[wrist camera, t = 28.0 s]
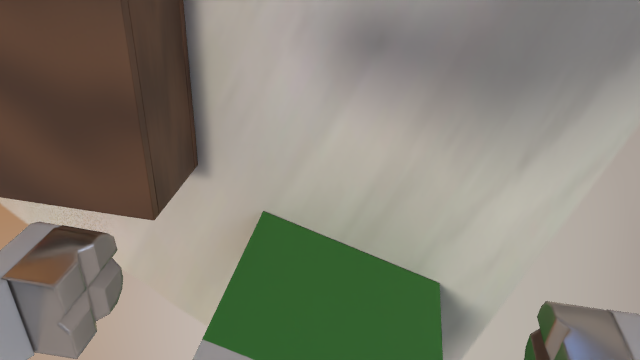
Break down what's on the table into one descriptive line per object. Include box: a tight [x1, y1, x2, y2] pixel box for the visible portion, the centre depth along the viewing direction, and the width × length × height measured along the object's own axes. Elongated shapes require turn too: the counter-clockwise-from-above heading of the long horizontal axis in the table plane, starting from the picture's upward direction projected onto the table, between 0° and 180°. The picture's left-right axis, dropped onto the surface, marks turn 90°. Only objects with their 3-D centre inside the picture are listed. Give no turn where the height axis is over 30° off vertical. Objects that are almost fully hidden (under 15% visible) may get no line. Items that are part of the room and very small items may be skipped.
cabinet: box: [0, 0, 198, 220], centre depth 36 cm, size 20×15×9 cm
